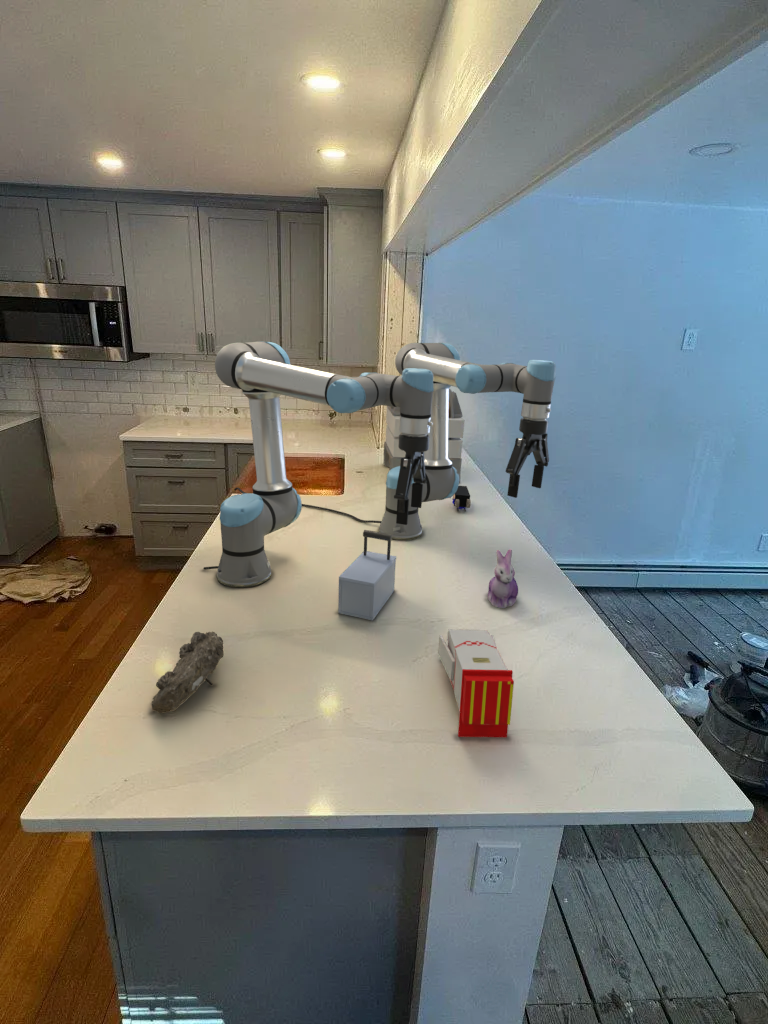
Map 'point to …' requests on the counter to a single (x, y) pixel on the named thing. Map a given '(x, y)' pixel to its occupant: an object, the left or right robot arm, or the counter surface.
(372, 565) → the door
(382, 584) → the chest
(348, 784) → the counter surface
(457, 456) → the light grey slatted box
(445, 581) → the counter surface
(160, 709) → the fossil
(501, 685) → the toy
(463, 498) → the figurine character
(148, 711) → the counter surface
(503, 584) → the figurine
